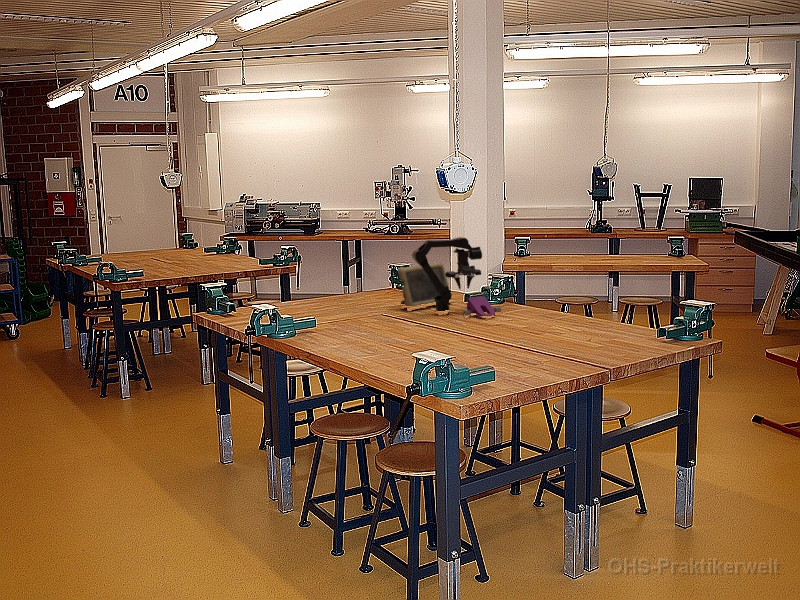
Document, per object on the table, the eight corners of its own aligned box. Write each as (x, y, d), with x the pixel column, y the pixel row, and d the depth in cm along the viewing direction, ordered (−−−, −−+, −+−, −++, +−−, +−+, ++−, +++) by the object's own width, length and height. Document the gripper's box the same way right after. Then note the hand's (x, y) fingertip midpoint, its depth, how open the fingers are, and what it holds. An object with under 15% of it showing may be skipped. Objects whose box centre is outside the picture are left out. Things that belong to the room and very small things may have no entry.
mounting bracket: (495, 328, 432) (481, 309, 446) (497, 314, 427) (484, 296, 441) (478, 330, 429) (465, 311, 443) (481, 316, 424) (468, 298, 438)
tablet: (414, 312, 459) (411, 268, 455) (397, 310, 469) (394, 267, 465) (453, 304, 481) (452, 261, 477) (437, 302, 491) (435, 260, 487)
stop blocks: (465, 318, 430) (465, 311, 430) (463, 317, 433) (463, 310, 433) (501, 315, 435) (500, 307, 434) (499, 314, 438) (498, 306, 437)
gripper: (451, 263, 435) (452, 292, 438) (484, 260, 440) (485, 289, 442) (444, 261, 446) (446, 289, 448) (477, 258, 450) (478, 286, 453)
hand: (464, 289), depth 448 cm, fingers open, 4 cm apart
